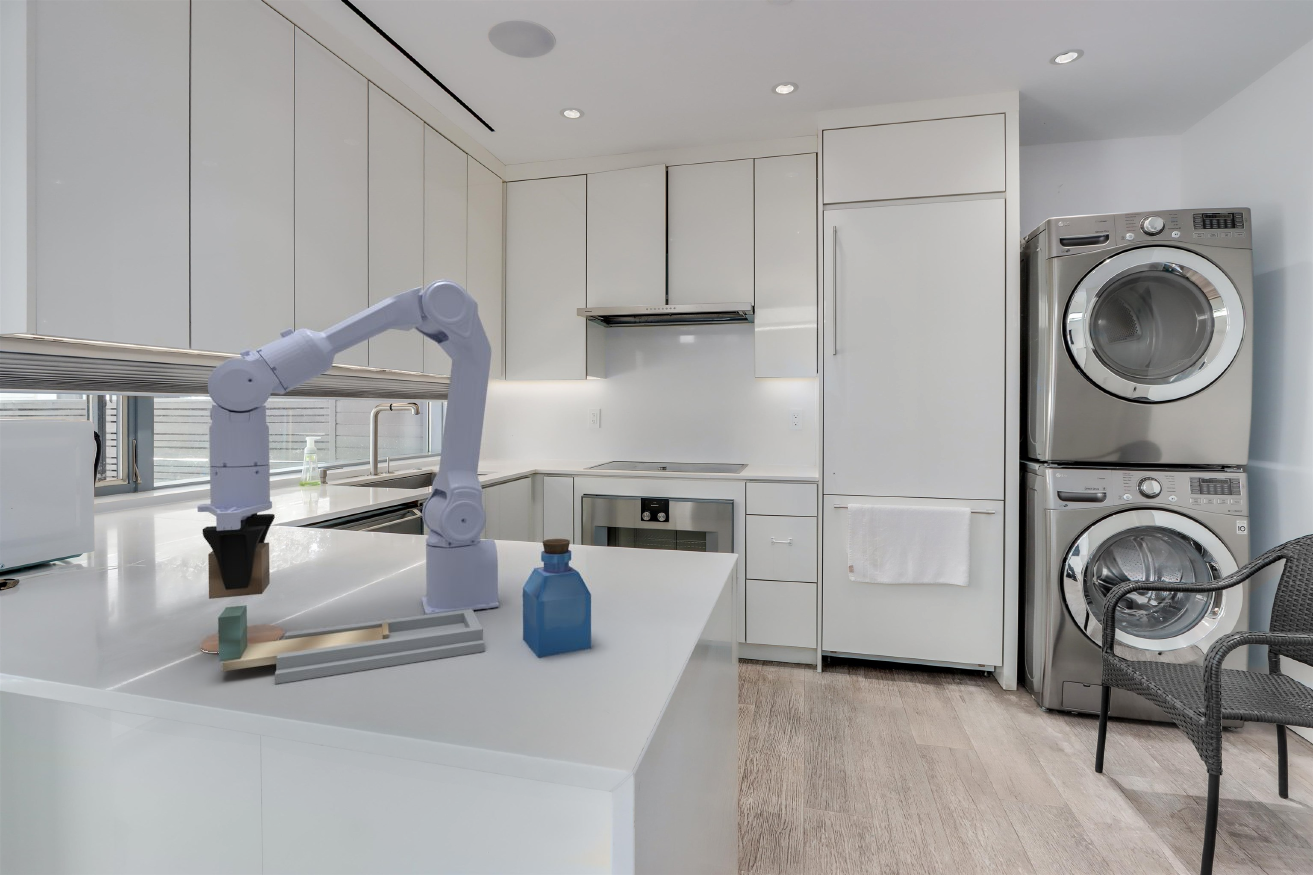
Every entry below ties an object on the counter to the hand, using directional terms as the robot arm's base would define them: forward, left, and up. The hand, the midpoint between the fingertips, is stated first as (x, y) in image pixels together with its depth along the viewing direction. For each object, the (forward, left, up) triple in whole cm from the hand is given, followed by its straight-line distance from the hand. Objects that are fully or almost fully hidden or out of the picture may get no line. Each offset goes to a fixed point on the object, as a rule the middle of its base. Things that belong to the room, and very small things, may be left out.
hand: (242, 581), depth 71 cm
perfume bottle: (-33, +16, -7) cm, 37 cm away
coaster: (0, 0, -7) cm, 7 cm away
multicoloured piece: (-8, +10, -6) cm, 14 cm away
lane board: (-15, +10, -7) cm, 19 cm away
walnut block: (0, 0, -1) cm, 1 cm away
